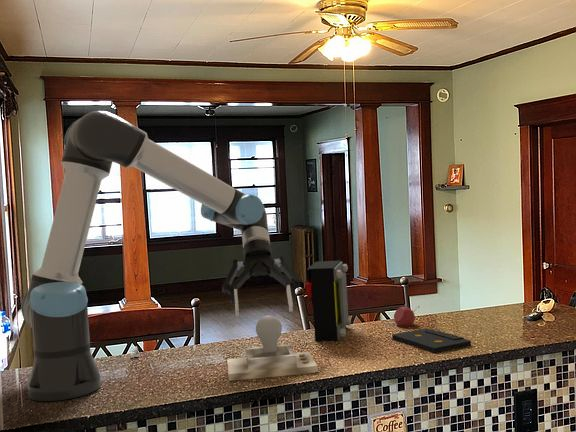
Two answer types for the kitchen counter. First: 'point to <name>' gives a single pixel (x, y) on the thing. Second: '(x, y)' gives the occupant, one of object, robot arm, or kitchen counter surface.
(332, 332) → the electrical component
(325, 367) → the kitchen counter surface
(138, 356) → the power adapter
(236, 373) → the desk organizer
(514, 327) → the kitchen counter surface
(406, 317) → the fruit
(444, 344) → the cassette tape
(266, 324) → the lightbulb
